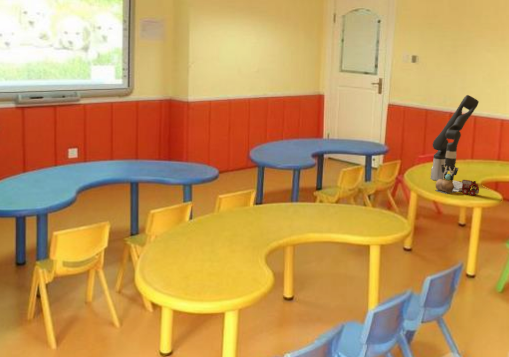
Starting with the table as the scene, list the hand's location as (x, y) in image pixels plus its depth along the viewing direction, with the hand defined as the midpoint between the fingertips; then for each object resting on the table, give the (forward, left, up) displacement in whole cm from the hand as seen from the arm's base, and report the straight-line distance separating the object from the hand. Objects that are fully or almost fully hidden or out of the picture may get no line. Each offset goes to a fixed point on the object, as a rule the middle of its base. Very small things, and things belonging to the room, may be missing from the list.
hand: (448, 179), depth 479 cm
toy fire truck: (+14, +7, -9) cm, 18 cm away
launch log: (0, -4, -9) cm, 9 cm away
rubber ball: (0, 0, -1) cm, 1 cm away
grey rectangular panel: (0, +3, -9) cm, 9 cm away
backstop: (0, +10, -8) cm, 13 cm away
